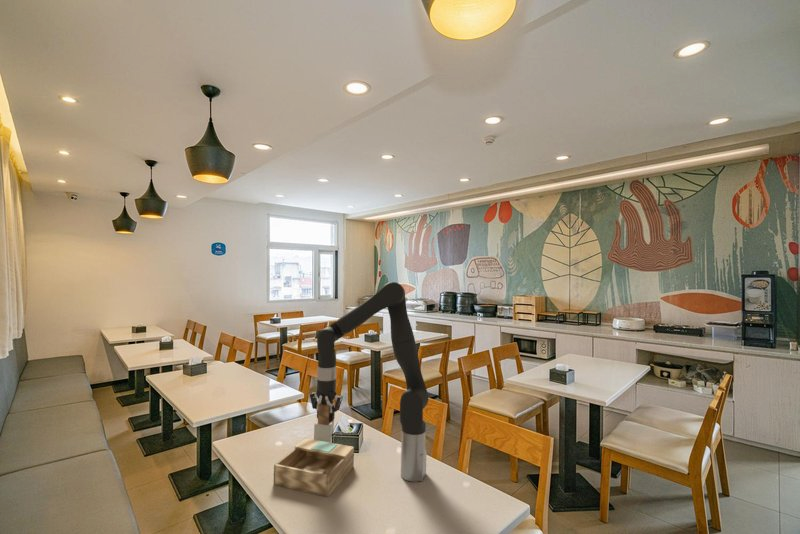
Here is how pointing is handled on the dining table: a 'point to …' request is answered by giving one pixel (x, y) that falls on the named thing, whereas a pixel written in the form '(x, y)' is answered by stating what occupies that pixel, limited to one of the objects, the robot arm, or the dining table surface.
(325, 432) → the supplement box
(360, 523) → the dining table surface
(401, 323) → the robot arm
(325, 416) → the block
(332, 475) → the crate
